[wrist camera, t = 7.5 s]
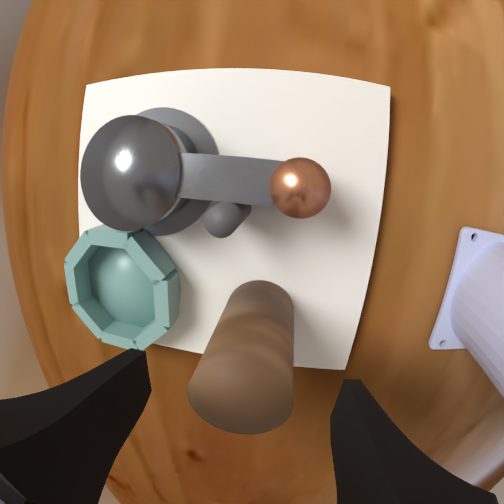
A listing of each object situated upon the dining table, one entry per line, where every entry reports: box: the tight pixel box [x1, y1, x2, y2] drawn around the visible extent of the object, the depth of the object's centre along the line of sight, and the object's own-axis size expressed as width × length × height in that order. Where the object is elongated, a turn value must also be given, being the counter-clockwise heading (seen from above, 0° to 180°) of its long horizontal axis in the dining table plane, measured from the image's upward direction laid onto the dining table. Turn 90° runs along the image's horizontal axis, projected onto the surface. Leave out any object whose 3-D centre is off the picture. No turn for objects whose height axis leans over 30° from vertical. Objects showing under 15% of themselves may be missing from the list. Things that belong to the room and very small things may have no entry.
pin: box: [188, 280, 294, 434], centre depth 12 cm, size 4×4×7 cm
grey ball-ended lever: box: [80, 115, 331, 231], centre depth 12 cm, size 11×5×3 cm, turn 84°
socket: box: [64, 224, 180, 350], centre depth 15 cm, size 7×7×2 cm
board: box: [78, 68, 390, 370], centre depth 13 cm, size 17×16×5 cm
